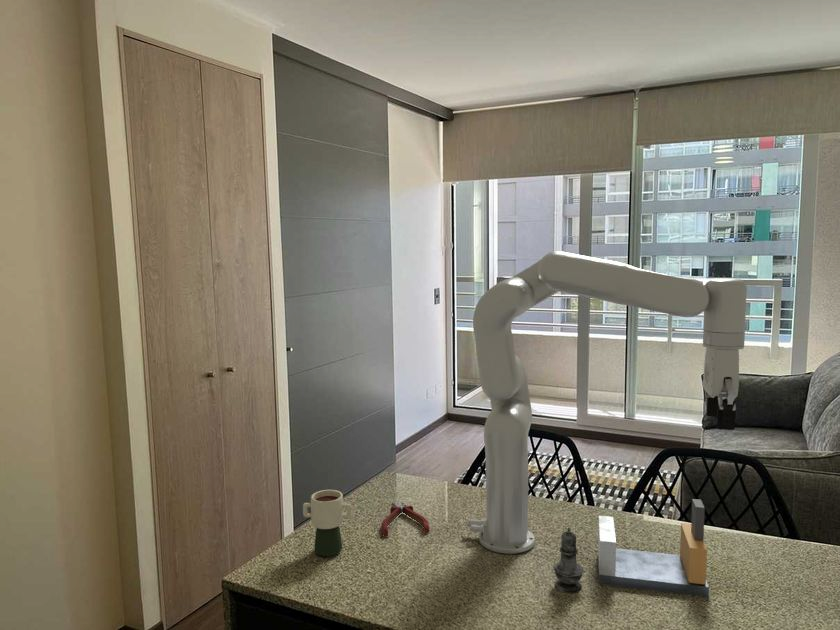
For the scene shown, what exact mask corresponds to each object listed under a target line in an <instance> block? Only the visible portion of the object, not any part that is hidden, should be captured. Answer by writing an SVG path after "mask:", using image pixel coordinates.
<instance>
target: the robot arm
mask: <svg viewBox="0 0 840 630" xmlns="http://www.w3.org/2000/svg"><path fill="white" fill-rule="evenodd" d="M747 288H748V286H747V284H746V282H745V281H744V280H743V279H739V278H711V279H703V278H693V277H687V276H682V277H681V276H677V275H675V276H674V275H669V274H667V273H666V274H665V273H660V272H656V271H655V272H654V271H650V270H646V269H642V268H638V267H635V266H633V265H630V264H627V263H624V262H619V261H615V260H609V259H604V258H603V259H602V258H598V257H592V256H587V255H582V254H576V253H572V252H567V251H566V252H565V251H562V250H555V251H550V252H548V253H546V254H545V255H544V256H543V257H542V258H541V259H540V260H538V261H537V262H535V263H534V264H532V265H530V266H529V267H527V268H525V269H523V270H522V271H520V272H518V273H516V274H515V275H513V276H511V277H510V278H506V279H504V280H501V281H499V282H498V283H496V284H494V285H493V286H492V287H490V288H489V289H488V290H486V292H485V293H484V294H482V296H481V297H480V299H478V301H477V304H475V305H476V306H475V308H474V311H473V312H474V313H473V315H472V316H473V317H472V326H473V328H472V329H473V337H474V342H475V343H474V344H475V352H476V361H477V366H478V374H479V384H480V387H481V389H482V392H483V393H484V395H485V396H487V398H489V401H490V407H491V410H490V412H489V414H488V415H487V418H486V419H485V423H484V428H483V441H484V453H485V518H481V519H475V518H467V523H466V524H467V525H466V526H467V528H470V531H471V532H475V533H476V532H477V533H478V532H479V536H478V537H479V538H478V539H479V542H480V544H481V545H482V547H484V548H486V549H487V550H489V551H492V552H495V553H499V554H508V555H509V554H521V553H524V552H527V551H529V550H531V549H532V548H533V547H534V545H535V544H536V542H535V541H536V537H535V534H533V532H532V531H530V530H529V450H528V449H529V448H528V447H529V444H528V440H529V439H528V438H529V432H530V428H531V425H532V421H533V420H532V419H533V411H532V405H531V398H530V392H529V390H530V389H529V383H528V378H527V372H526V368H525V365H524V364H523V362H522V360H521V359H520V358H519V357H518V356H517V355H516V350H515V343H514V336H513V332H512V331H513V330H512V323H513V321H514V319H515V318H517V317H519V316H522V314H524V313H526V312H527V311H528V310H529V309H531V308H533V307H536V306H537V305H538V304H540V303H542V302H544V301H545V300H547V299H549V298H550V297H552V296H554V295H555V294H558V293H559V292H560V293H565V294H568V295H569V294H570V295H575V296H580V297H584V298H591V299H594V300H599V301H603V302H604V301H605V302H608V303H613V304H615V305H622V306H629V307H634V308H638V309H643V310H647V311H653V312H656V313H662V314H667V315H672V316H676V317H682V318H694V317H697V316H699V315H700V314H702V313H703V327H702V328H703V330H702V332H703V335H702V347H704V348H705V354H704V355H705V356H704V363H703V364H704V365H703V374H702V375H703V376H702V377H703V378H702V388H703V390H704V392H706V393H707V397H706V416H707V417H716V429H718V430H723V431H726V430H727V431H734V430H735V429H736V412H737V410H736V409H737V408H736V404H737V403H736V398H737V397H738V395H739V394H738V393H739V383H740V350H745V336H746V315H747V313H746V310H747V292H748V291H747V290H748V289H747Z"/></svg>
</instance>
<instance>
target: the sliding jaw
mask: <svg viewBox="0 0 840 630" xmlns="http://www.w3.org/2000/svg"><path fill="white" fill-rule="evenodd" d="M690 522H691V523H680V544H679V545H680V547H679V555H680V557H681V560H682V563H683V566H684V569H685V572H686V575H687V579H688V582H689V583H696V584H705V585H706V581H707V561H708V560H707V558H708V557H707V555H708V549H707V547H706V544H705V542H704V541H705V540H704V538H705V536H704V535H705V533H704V532H705V506H704V504H703V500H702V499H696V498H691V521H690Z"/></svg>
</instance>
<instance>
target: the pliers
mask: <svg viewBox="0 0 840 630" xmlns="http://www.w3.org/2000/svg"><path fill="white" fill-rule="evenodd" d="M393 505H394V506H395V507H394V506H392V507H390V510H389V511H390V512H389V513H391V514H389V515H388V516H387V517H385V519H384V520H383V521H382V523H381V525H380V529H381V534H382V536H383V535H384V536H388V537H389V527H387V526H388V525H389V524H390V523H391V522H392V521H393V520H394V519H395V518H396V517H397V516H398V515H399V514H400V513H402V512H403V513H405V514H406V515H408V516H409V517H411V518H412V519H414V520H416V521H417V522H419V523H420V524H421V525H422V526H423V527H424V529H423V533H424V532H425V533H428V534H429V533H430V524H429V521H428V519H427V518H426V517H424V516H423V515H421V514H419V512H416V511H414V507H413V506H412V505H408V504H407V500H406V498H404V499H403V501H402V504H399V501H398V500H396V499H395V498H393ZM420 524H419V525H420ZM421 525H420V526H421ZM422 526H421V527H422ZM423 527H422V528H423ZM425 533H424V534H425ZM384 536H383V537H384Z"/></svg>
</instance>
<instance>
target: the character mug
mask: <svg viewBox="0 0 840 630" xmlns="http://www.w3.org/2000/svg"><path fill="white" fill-rule="evenodd" d="M343 495H344V494H343V493H342V492H341V491H339V490H336V489H323V490H319V491H316V492H314V493H313V494H311V495H310V502H304V503H303V505H302V515H303V517H304V518H311V524H312V526H313V527H314V528H316V529H315V538H314V548H313V549H314V551H313V552H315V553H316V554H317V555H319V556H321V557H329V556H334V555H336V554H338V553H339V552H341V551H342V549H343V541H342V535H341V534H342V533H341V530H340V529H341V527H340V526H341V525H342V523H343V521H344V519H350V518H352V516H353V514H352V513H353V512H352V511H353V509H352V508H353V507H352V504H351V503H344V499H343V497H344V496H343ZM308 508H310V512H308ZM344 509H347V511H346V513H344Z"/></svg>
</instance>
